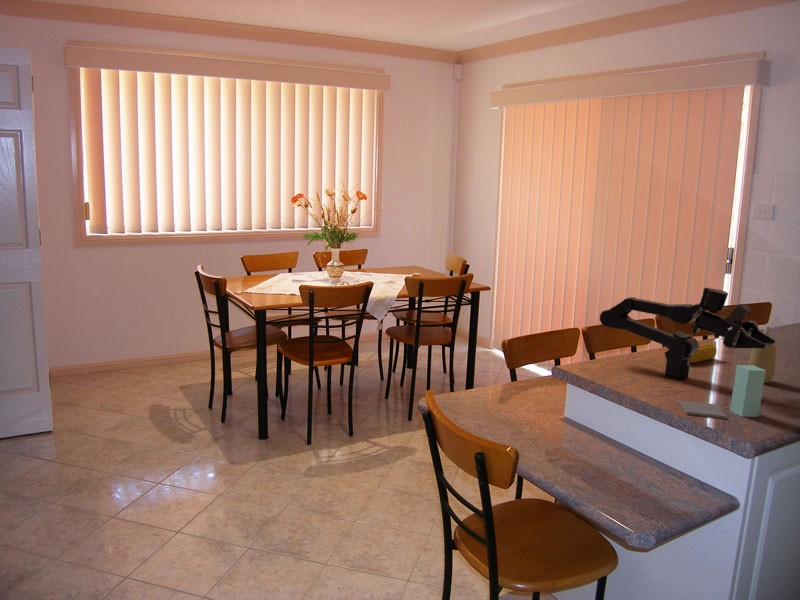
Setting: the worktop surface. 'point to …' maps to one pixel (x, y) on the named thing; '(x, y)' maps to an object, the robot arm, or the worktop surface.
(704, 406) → the rubber mat
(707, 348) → the food
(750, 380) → the teal block
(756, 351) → the squeeze bottle
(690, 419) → the worktop surface
